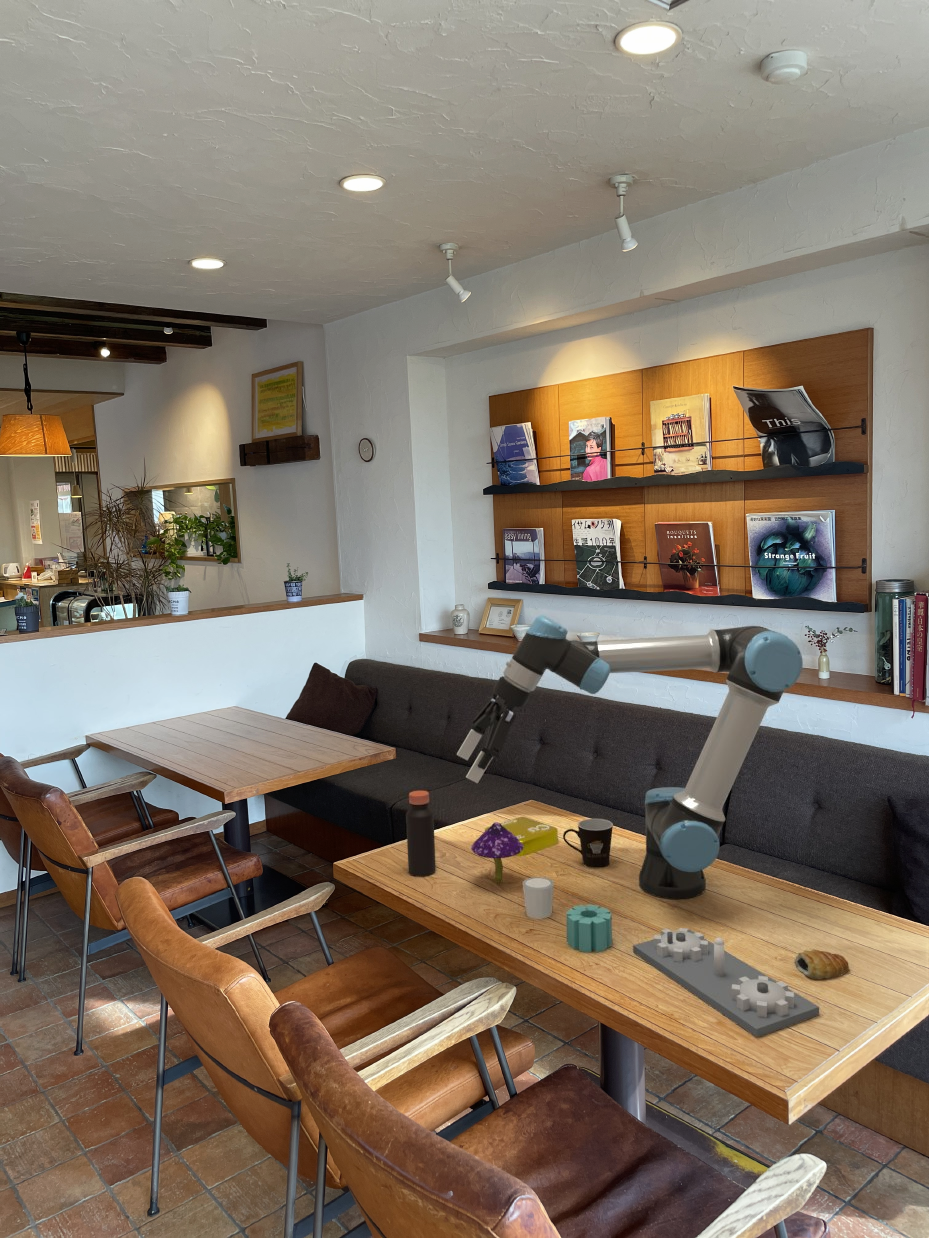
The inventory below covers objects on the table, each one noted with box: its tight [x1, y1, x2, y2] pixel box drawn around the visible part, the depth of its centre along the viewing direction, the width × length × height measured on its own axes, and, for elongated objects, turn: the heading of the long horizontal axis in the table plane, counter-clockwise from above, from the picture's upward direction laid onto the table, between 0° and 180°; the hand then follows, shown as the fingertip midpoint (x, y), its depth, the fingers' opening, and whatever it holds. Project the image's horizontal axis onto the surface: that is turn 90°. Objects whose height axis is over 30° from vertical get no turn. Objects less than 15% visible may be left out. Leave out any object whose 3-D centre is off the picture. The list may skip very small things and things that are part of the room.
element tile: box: [484, 816, 559, 857], centre depth 243 cm, size 15×15×5 cm
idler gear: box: [565, 904, 613, 954], centre depth 185 cm, size 9×9×6 cm
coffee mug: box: [562, 818, 614, 869], centre depth 228 cm, size 12×9×10 cm
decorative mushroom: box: [470, 821, 524, 884], centre depth 216 cm, size 12×12×15 cm
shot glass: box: [521, 876, 555, 920], centre depth 200 cm, size 7×7×7 cm
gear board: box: [632, 927, 820, 1038], centre depth 168 cm, size 14×34×8 cm, turn 26°
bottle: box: [405, 790, 437, 877], centre depth 225 cm, size 7×7×20 cm
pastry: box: [793, 949, 850, 980], centre depth 171 cm, size 9×7×4 cm
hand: (466, 768), depth 195 cm, fingers open, 13 cm apart
